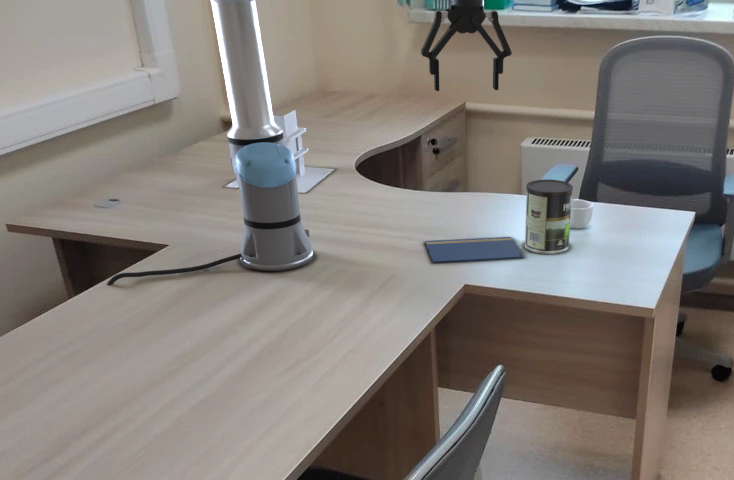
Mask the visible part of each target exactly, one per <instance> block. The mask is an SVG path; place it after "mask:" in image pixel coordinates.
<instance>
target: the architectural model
mask: <svg viewBox="0 0 734 480" xmlns="http://www.w3.org/2000/svg"><path fill="white" fill-rule="evenodd" d="M273 119H274V122H275V123H276V124H277V125H279V126H280V127H281V128H282V130H283V137H284V143H285V147H287V148H288V149H290V150H291V152H292V153H293V156H294V160H295V163H296V179H297V189H298V193H301V194H302V193H303V194H306V193H307V192H309V191H310V190H312V188H314V187H315V186H316V185H317V184H318V183H320V182H321V181H322V180H324V179H325V178H326V177H327V176H329V174H331V173H332V172H333V171H335V170H336V169H335V168H325V167H311V166H305V158H304V157H305V156H304V155H305V154H306V153H307V152H309V147H303V138H302V135H303V134H305V133H306V132H307V127H299V126H298V120H297V109H293V110H292V111H290V112H288V113H286V114H284V115H281V114H280V115H279V114H277V115H274V114H273ZM224 188H233V189H239V185H238V182H237V179H236V178H235V180H233V181H232V182H229V183H228V184H227V185H225V186H224Z"/></svg>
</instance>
